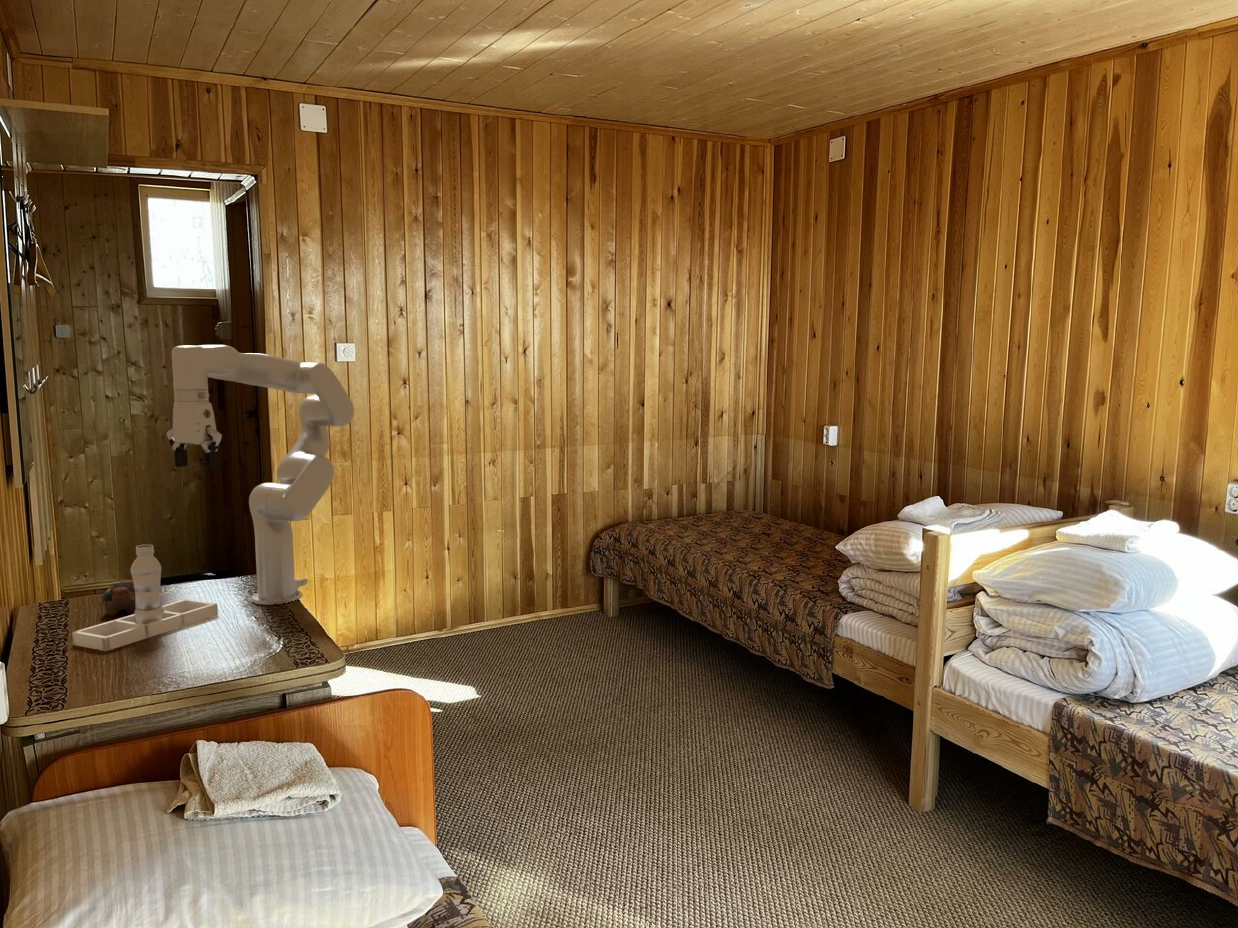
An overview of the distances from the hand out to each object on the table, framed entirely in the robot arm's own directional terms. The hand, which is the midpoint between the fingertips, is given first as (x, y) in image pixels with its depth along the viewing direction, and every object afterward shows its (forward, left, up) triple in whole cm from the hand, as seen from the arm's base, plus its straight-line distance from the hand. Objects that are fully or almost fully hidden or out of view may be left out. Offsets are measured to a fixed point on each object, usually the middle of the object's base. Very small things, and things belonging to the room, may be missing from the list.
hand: (195, 467), depth 225 cm
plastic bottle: (+11, -6, -38) cm, 40 cm away
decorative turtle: (+3, -25, -39) cm, 46 cm away
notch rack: (+11, -6, -38) cm, 40 cm away
